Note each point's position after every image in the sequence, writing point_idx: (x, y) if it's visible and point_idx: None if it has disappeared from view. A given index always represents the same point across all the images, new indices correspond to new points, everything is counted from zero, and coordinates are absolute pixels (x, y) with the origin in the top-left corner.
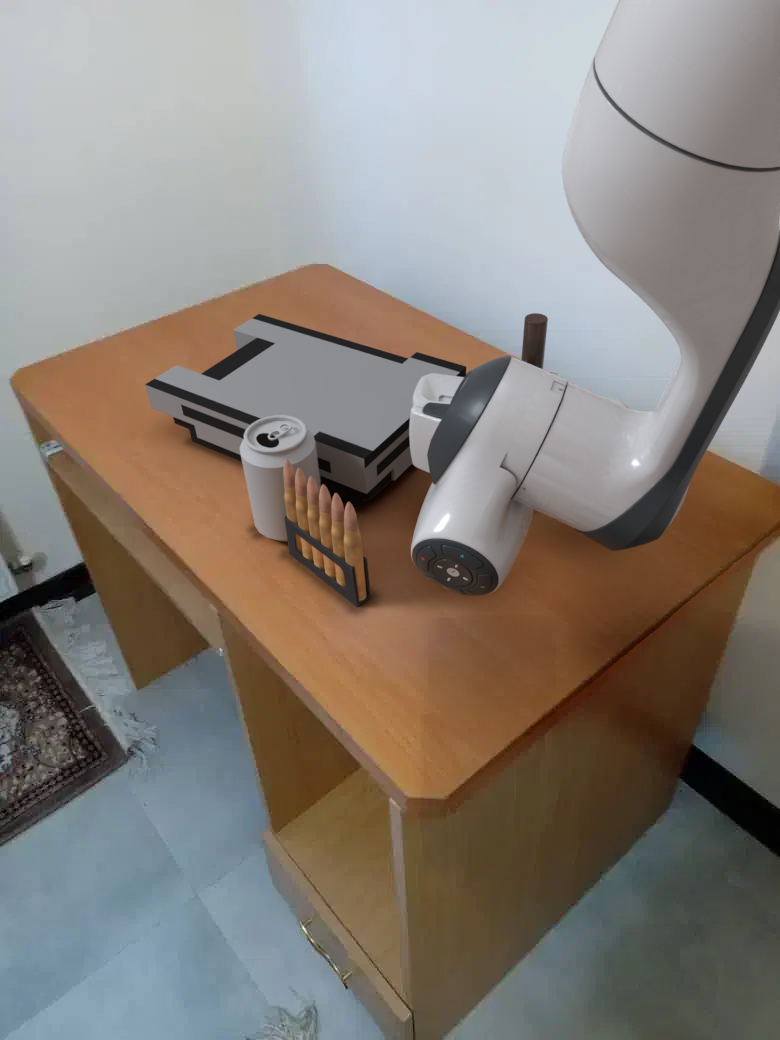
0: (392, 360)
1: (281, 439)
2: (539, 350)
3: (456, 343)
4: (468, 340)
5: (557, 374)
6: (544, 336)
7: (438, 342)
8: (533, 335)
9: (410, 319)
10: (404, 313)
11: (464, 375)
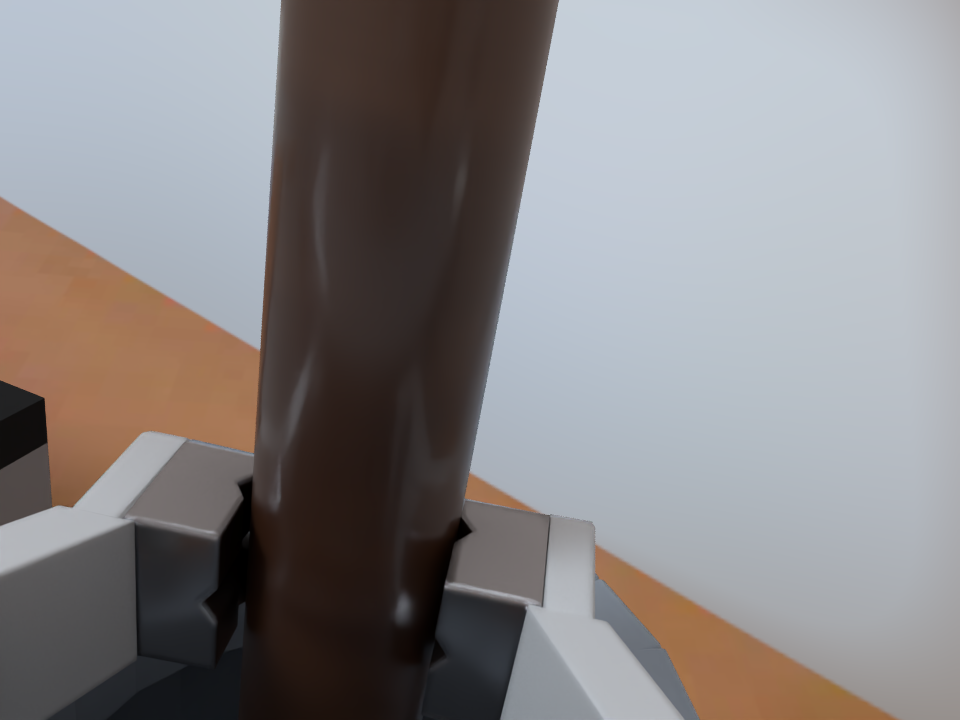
0: None
1: None
2: (454, 285)
3: (157, 324)
4: (197, 319)
5: (589, 532)
6: (523, 120)
7: (100, 317)
8: (393, 68)
9: (45, 252)
10: (35, 237)
11: (34, 442)
